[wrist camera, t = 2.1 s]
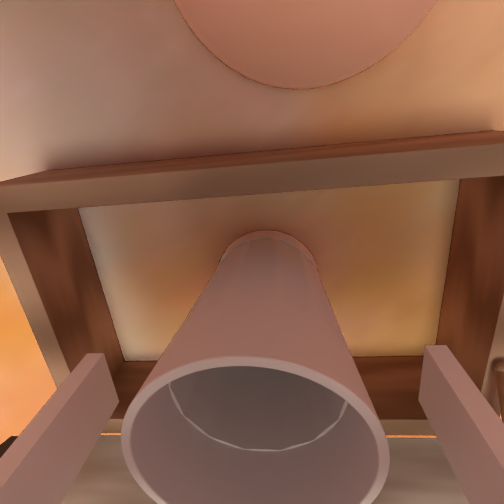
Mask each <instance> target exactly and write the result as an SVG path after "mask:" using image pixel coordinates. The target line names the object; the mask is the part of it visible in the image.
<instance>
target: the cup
mask: <svg viewBox="0 0 504 504" xmlns="http://www.w3.org/2000/svg"><path fill="white" fill-rule="evenodd" d="M121 446H122V452H123V456H124V459H125V462H126V464H127V467H128V469H129V471H130V473H131V474H132V476H133V477H134V479H135V480H136V482H137V483H138V484H139V486H140V487H141V488H142V489H143V490H144V491H145V493H146V494H147V495H148V496H150V497H151V498H152V499H153V500H154V501H155V502H156V503H158V504H371V503H372V502H373V501H374V500H375V498H376V497H377V496H378V494H379V493H380V491H381V489H382V488H383V485H384V483H385V481H386V478H387V475H388V471H389V464H390V453H389V446H388V441H387V438H386V435H385V432H384V430H383V428H382V425H381V423H380V421H379V418H378V416H377V414H376V411H375V409H374V407H373V404H372V402H371V400H370V397H369V395H368V393H367V390H366V388H365V386H364V383H363V381H362V379H361V376H360V374H359V372H358V369H357V367H356V365H355V363H354V360H353V358H352V356H351V353H350V351H349V349H348V347H347V344H346V342H345V339H344V337H343V334H342V332H341V330H340V327H339V325H338V322H337V320H336V317H335V315H334V312H333V310H332V307H331V305H330V302H329V300H328V297H327V295H326V293H325V290H324V288H323V285H322V283H321V280H320V278H319V275H318V272H317V267H316V264H315V261H314V258H313V256H312V255H311V253H310V252H309V250H308V249H307V248H306V247H305V246H304V245H303V244H302V243H301V242H300V241H298V240H297V239H295V238H294V237H292V236H290V235H288V234H285V233H282V232H278V231H271V230H262V231H255V232H251V233H248V234H245V235H243V236H241V237H239V238H238V239H236V240H235V241H234V242H232V243H231V244H230V245H229V246H228V248H227V249H226V250H225V252H224V253H223V255H222V257H221V259H220V262H219V264H218V266H217V268H216V270H215V272H214V273H213V275H212V277H211V278H210V280H209V282H208V283H207V285H206V286H205V288H204V290H203V291H202V293H201V295H200V296H199V298H198V300H197V301H196V303H195V304H194V306H193V308H192V309H191V311H190V313H189V314H188V316H187V318H186V319H185V321H184V323H183V324H182V326H181V327H180V329H179V331H178V332H177V333H176V334H175V336H174V337H173V339H172V340H171V342H170V343H169V345H168V346H167V348H166V350H165V351H164V353H163V354H162V356H161V357H160V359H159V360H158V362H157V364H156V365H155V367H154V368H153V370H152V371H151V373H150V374H149V376H148V377H147V379H146V381H145V382H144V384H143V385H142V387H141V388H140V390H139V391H138V393H137V395H136V396H135V398H134V399H133V401H132V402H131V404H130V406H129V407H128V409H127V412H126V414H125V417H124V420H123V424H122V429H121Z"/></svg>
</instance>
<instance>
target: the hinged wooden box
mask: <svg viewBox="0 0 504 504" xmlns="http://www.w3.org/2000/svg"><path fill="white" fill-rule="evenodd" d="M451 179H461V181H460V188H459V194H458V201H457V208H456V214H455V221H454V228H453V234H452V241H451V248H450V254H449V261H448V268H447V274H446V281H445V288H444V294H443V301H442V308H441V314H440V321H439V328H438V334H437V341H436V345H446V346H447V347H448V348H449V350H450V351H451V352H452V354H453V355H454V357H455V358H456V359H457V361H458V362H459V363H460V365H461V366H462V367H463V369H464V370H465V372H466V373H467V374H468V376H469V377H470V378H471V380H472V381H473V382H474V384H475V385H476V387H477V388H478V389H479V391H480V392H481V393H482V395H483V396H484V397H485V399H486V400H487V401H488V403H489V404H490V406H491V407H492V408H493V410H494V411H495V412H496V414H497V415H498V416H499V417H500V414H501V417H502V422H503V423H504V131H495V130H492V131H481V132H470V133H458V134H447V135H436V136H425V137H414V138H403V139H392V140H381V141H370V142H359V143H347V144H336V145H325V146H314V147H303V148H292V149H281V150H270V151H259V152H247V153H236V154H225V155H214V156H203V157H192V158H181V159H170V160H159V161H148V162H136V163H125V164H114V165H103V166H92V167H81V168H70V169H59V170H48V171H43V172H38V173H34V174H30V175H26V176H22V177H18V178H14V179H10V180H6V181H2V182H0V256H1V258H2V260H3V263H4V265H5V267H6V270H7V272H8V274H9V277H10V279H11V282H12V284H13V286H14V289H15V291H16V293H17V296H18V298H19V300H20V303H21V305H22V307H23V310H24V312H25V314H26V317H27V319H28V321H29V324H30V326H31V328H32V331H33V333H34V335H35V338H36V340H37V343H38V345H39V347H40V350H41V352H42V354H43V357H44V359H45V361H46V364H47V366H48V368H49V371H50V373H51V375H52V378H53V380H54V382H55V385H56V387H57V389H58V388H59V387H60V385H61V384H62V383H63V382H64V381H65V379H66V378H67V377H68V376H69V375H70V373H71V372H72V371H73V370H74V369H75V367H76V366H77V365H78V364H79V363H80V361H81V360H82V359H83V358H84V357H85V355H86V354H87V353H104V355H105V359H106V362H107V365H108V368H109V371H110V374H111V377H112V381H113V384H114V387H115V390H116V393H117V396H118V399H119V403H118V405H117V407H116V408H115V410H114V412H113V414H112V415H111V417H110V419H109V421H108V422H107V424H106V426H105V428H104V429H103V431H102V433H121V429H122V424H123V420H124V417H125V414H126V412H127V409H128V407H129V406H130V404H131V402H132V401H133V399H134V398H135V396H136V395H137V393H138V391H139V390H140V388H141V387H142V385H143V384H144V382H145V381H146V379H147V377H148V376H149V374H150V373H151V371H152V370H153V368H154V367H155V365H156V364H157V362H158V361H129V362H124V358H123V355H122V352H121V349H120V345H119V342H118V339H117V336H116V332H115V329H114V326H113V323H112V320H111V316H110V313H109V310H108V307H107V303H106V300H105V297H104V294H103V290H102V287H101V284H100V281H99V277H98V274H97V271H96V268H95V264H94V261H93V258H92V255H91V252H90V248H89V245H88V242H87V239H86V235H85V232H84V229H83V226H82V222H81V219H80V216H79V213H78V209H77V208H80V207H93V206H106V205H120V204H133V203H146V202H159V201H173V200H186V199H199V198H212V197H226V196H239V195H252V194H265V193H279V192H292V191H305V190H318V189H332V188H345V187H358V186H372V185H385V184H398V183H411V182H425V181H438V180H451ZM352 358H353V360H354V363H355V365H356V367H357V369H358V372H359V374H360V376H361V379H362V381H363V383H364V386H365V388H366V390H367V393H368V395H369V397H370V400H371V402H372V404H373V407H374V409H375V411H376V414H377V416H378V418H379V421H380V423H381V425H382V428H383V430H384V432H385V435H435V433H434V431H433V429H432V427H431V425H430V423H429V421H428V419H427V417H426V415H425V413H424V410H423V408H422V406H421V404H420V402H419V400H418V398H419V390H420V382H421V374H422V366H423V358H424V356H399V357H352ZM387 441H388V446H389V453H390V464H389V471H388V475H387V478H386V481H385V483H384V485H383V488H382V489H381V491H380V493H379V494H378V496H377V497H376V498H375V500H374V501H373V502H372V503H371V504H469V502H468V500H467V498H466V496H465V494H464V492H463V490H462V488H461V486H460V484H459V482H458V480H457V478H456V476H455V474H454V472H453V470H452V467H451V465H450V463H449V461H448V459H447V457H446V455H445V453H444V451H443V449H442V447H441V445H440V443H439V441H438V439H437V438H387ZM61 504H158V503H156V502H155V501H154V500H153V499H152V498H151V497H150V496H148V495H147V494H146V493H145V491H144V490H143V489H142V488H141V487H140V486H139V484H138V483H137V482H136V480H135V479H134V477H133V476H132V474H131V473H130V471H129V469H128V467H127V464H126V462H125V459H124V456H123V452H122V446H121V435H100V436H99V438H98V440H97V442H96V443H95V445H94V447H93V449H92V450H91V452H90V454H89V456H88V457H87V459H86V461H85V463H84V464H83V466H82V468H81V470H80V471H79V473H78V475H77V477H76V478H75V480H74V482H73V484H72V485H71V487H70V489H69V491H68V492H67V494H66V496H65V498H64V499H63V501H62V503H61Z"/></svg>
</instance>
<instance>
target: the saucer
mask: <svg viewBox="0 0 504 504" xmlns="http://www.w3.org/2000/svg"><path fill="white" fill-rule="evenodd" d="M436 1H437V0H174V2H175V4H176V6H177V7H178V9H179V11H180V12H181V14H182V16H183V18H184V19H185V21H186V23H187V24H188V25H189V27H190V28H191V29H192V31H193V32H194V33H195V35H196V36H197V37H198V39H199V40H200V41H201V42H202V43H203V44H204V45H205V46H206V47H207V48H208V49H209V50H210V51H211V52H212V53H213V54H214V55H215V56H216V57H217V58H219V59H220V60H221V61H222V62H224V63H225V64H226V65H227V66H229V67H230V68H232V69H233V70H235V71H237V72H238V73H240V74H242V75H243V76H245V77H247V78H250V79H252V80H254V81H257V82H259V83H262V84H266V85H270V86H274V87H279V88H288V89H308V88H316V87H321V86H327V85H330V84H333V83H336V82H339V81H342V80H345V79H347V78H349V77H352V76H354V75H356V74H358V73H360V72H362V71H364V70H366V69H367V68H369V67H371V66H372V65H374V64H375V63H377V62H378V61H380V60H381V59H383V58H384V57H386V56H387V55H388V54H389V53H390V52H392V51H393V50H394V49H395V48H396V47H398V46H399V45H400V44H401V43H402V42H403V41H404V40H405V39H406V38H407V37H408V36H409V35H410V34H411V33H412V32H413V31H414V30H415V29H416V28H417V27H418V25H419V24H420V23H421V21H422V20H423V19H424V18H425V16H426V15H427V14H428V12H429V11H430V10H431V9H432V7H433V6H434V4H435V2H436Z"/></svg>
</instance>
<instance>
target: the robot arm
mask: <svg viewBox="0 0 504 504" xmlns="http://www.w3.org/2000/svg"><path fill="white" fill-rule="evenodd" d="M418 400H419V402H420V404H421V406H422V408H423V410H424V413H425V415H426V417H427V419H428V421H429V423H430V425H431V427H432V429H433V431H434V433H435V435H436V437H437V439H438V441H439V443H440V445H441V447H442V449H443V451H444V453H445V455H446V457H447V459H448V461H449V463H450V465H451V467H452V470H453V472H454V474H455V476H456V478H457V480H458V482H459V484H460V486H461V488H462V490H463V492H464V494H465V496H466V498H467V500H468V502H469V504H504V423H503V422H502V421H501V419H500V418H499V416H498V415H497V414H496V412H495V411H494V410H493V408H492V407H491V406H490V404H489V403H488V401H487V400H486V399H485V397H484V396H483V395H482V393H481V392H480V391H479V389H478V388H477V387H476V385H475V384H474V382H473V381H472V380H471V378H470V377H469V376H468V374H467V373H466V372H465V370H464V369H463V367H462V366H461V365H460V363H459V362H458V361H457V359H456V358H455V357H454V355H453V354H452V352H451V351H450V350H449V348H448V347H447V346H446V345H426V346H425V350H424V358H423V366H422V374H421V382H420V390H419V398H418ZM118 403H119V399H118V396H117V393H116V390H115V387H114V384H113V381H112V377H111V374H110V371H109V368H108V365H107V362H106V359H105V355H104V353H87V354H86V355H85V357H84V358H83V359H82V360H81V361H80V363H79V364H78V365H77V366H76V367H75V369H74V370H73V371H72V372H71V373H70V375H69V376H68V377H67V378H66V379H65V381H64V382H63V383H62V384H61V385H60V387H59V388H58V389H57V390H56V392H55V393H54V394H53V395H52V396H51V398H50V399H49V400H48V401H47V402H46V404H45V405H44V406H43V407H42V408H41V410H40V411H39V412H38V413H37V414H36V416H35V417H34V418H33V419H32V421H31V422H30V423H29V424H28V425H27V427H26V428H25V429H24V430H23V431H22V433H21V434H20V435H19V436H11V437H10V438H8V439H7V440H6V441H5V442H3V443H2V444H1V445H0V504H61V503H62V501H63V499H64V498H65V496H66V494H67V492H68V491H69V489H70V487H71V485H72V484H73V482H74V480H75V478H76V477H77V475H78V473H79V471H80V470H81V468H82V466H83V464H84V463H85V461H86V459H87V457H88V456H89V454H90V452H91V450H92V449H93V447H94V445H95V443H96V442H97V440H98V438H99V436H100V435H101V433H102V431H103V429H104V428H105V426H106V424H107V422H108V421H109V419H110V417H111V415H112V414H113V412H114V410H115V408H116V407H117V405H118Z"/></svg>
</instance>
